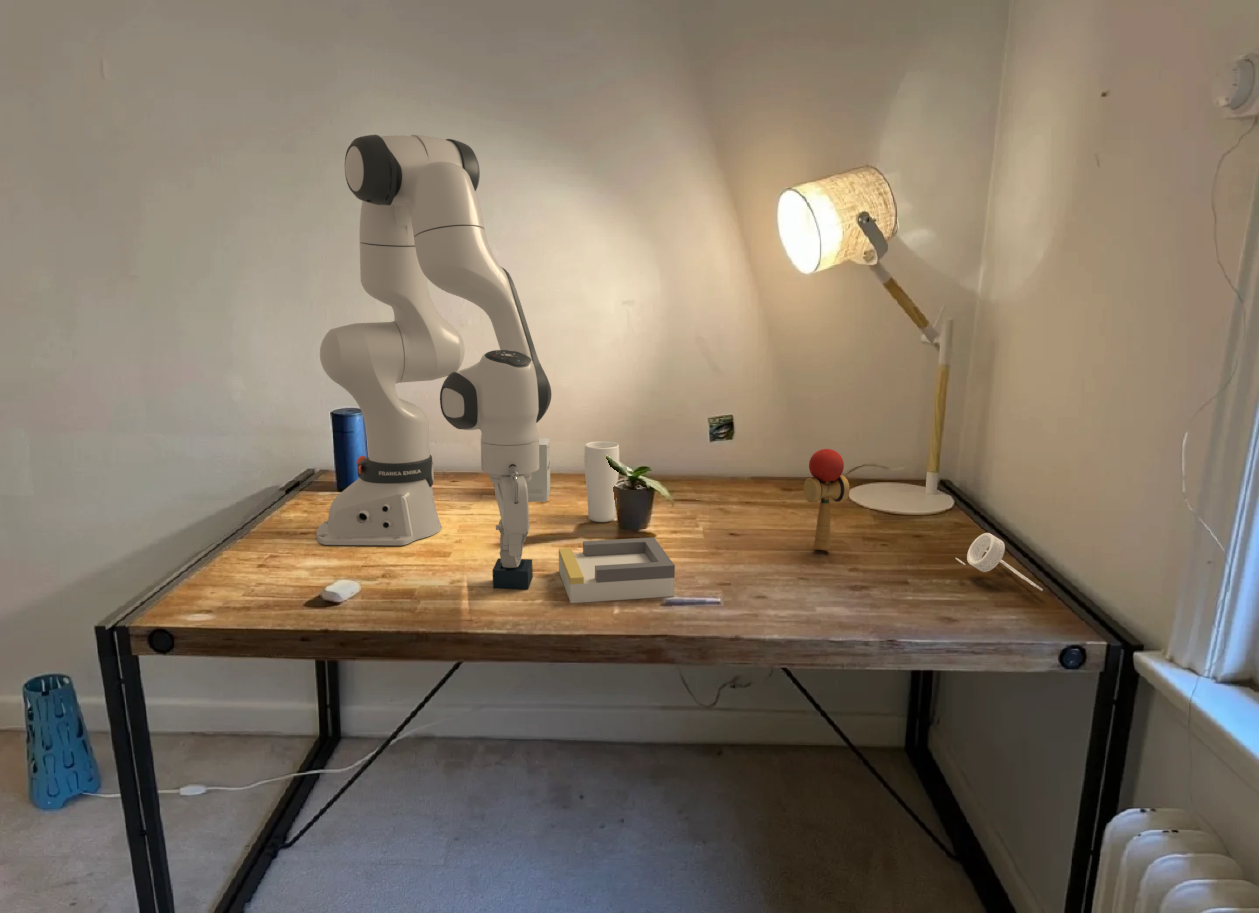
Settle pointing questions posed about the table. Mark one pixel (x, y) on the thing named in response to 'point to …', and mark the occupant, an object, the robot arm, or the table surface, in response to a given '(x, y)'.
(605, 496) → the white vase
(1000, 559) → the wheel on axle
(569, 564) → the dock
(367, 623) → the table surface
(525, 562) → the watch
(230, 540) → the table surface
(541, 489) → the supplement box
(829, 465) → the kendama
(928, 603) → the table surface
